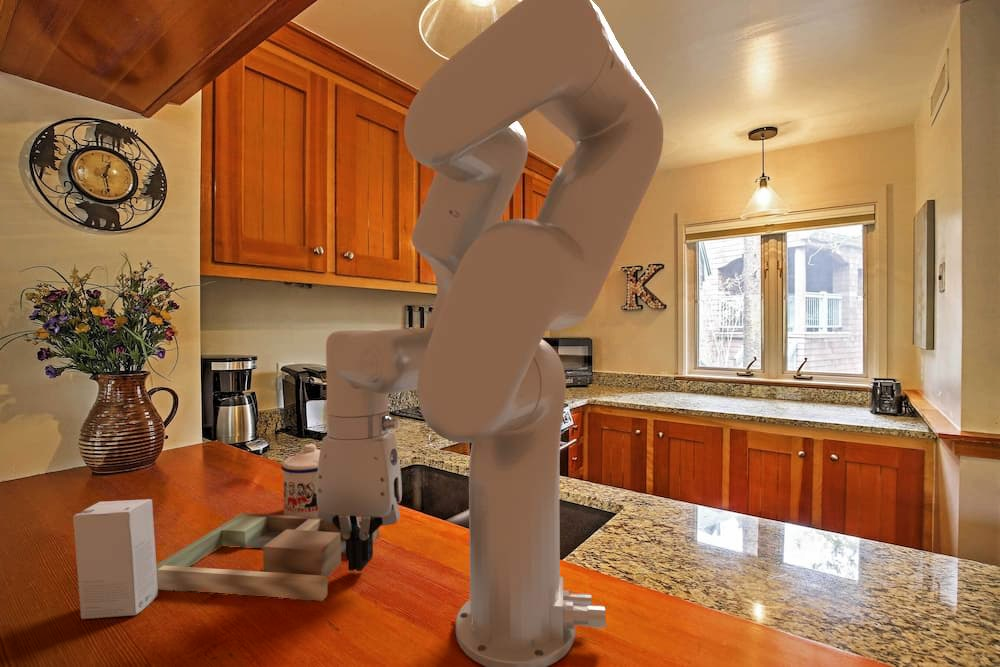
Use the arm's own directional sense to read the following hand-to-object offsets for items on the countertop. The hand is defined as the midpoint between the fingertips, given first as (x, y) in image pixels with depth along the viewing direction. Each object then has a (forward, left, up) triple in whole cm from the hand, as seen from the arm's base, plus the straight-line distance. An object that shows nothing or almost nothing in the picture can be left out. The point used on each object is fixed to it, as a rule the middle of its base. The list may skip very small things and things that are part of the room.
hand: (359, 565), depth 61 cm
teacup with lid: (+16, -18, -2) cm, 24 cm away
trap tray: (+13, -2, -1) cm, 13 cm away
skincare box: (+25, +10, -2) cm, 27 cm away
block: (+8, 0, -2) cm, 8 cm away
